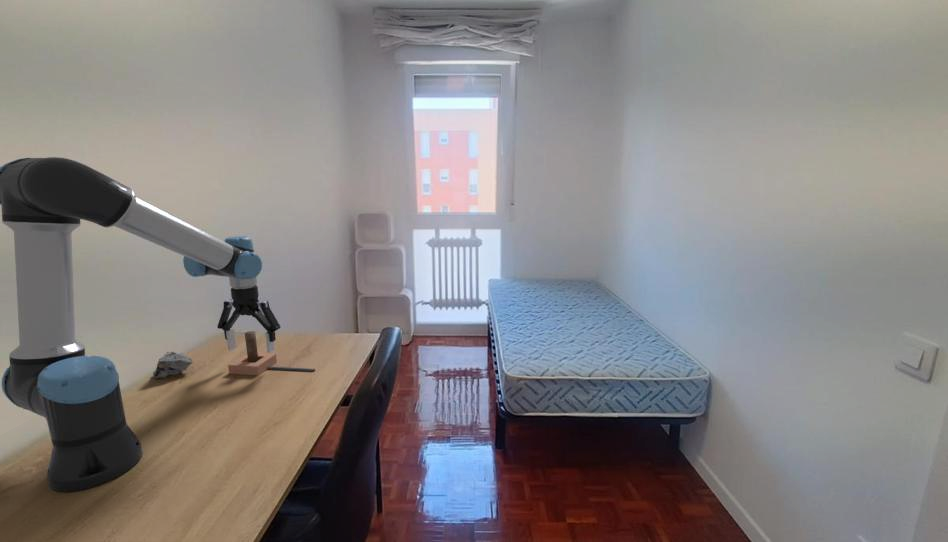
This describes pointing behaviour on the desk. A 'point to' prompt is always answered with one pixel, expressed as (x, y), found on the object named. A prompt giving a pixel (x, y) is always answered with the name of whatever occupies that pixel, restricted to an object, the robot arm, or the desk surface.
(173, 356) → the mineral specimen
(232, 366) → the pink square frame
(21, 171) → the robot arm
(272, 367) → the strip
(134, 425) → the desk surface
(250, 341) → the dowel
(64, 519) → the desk surface
